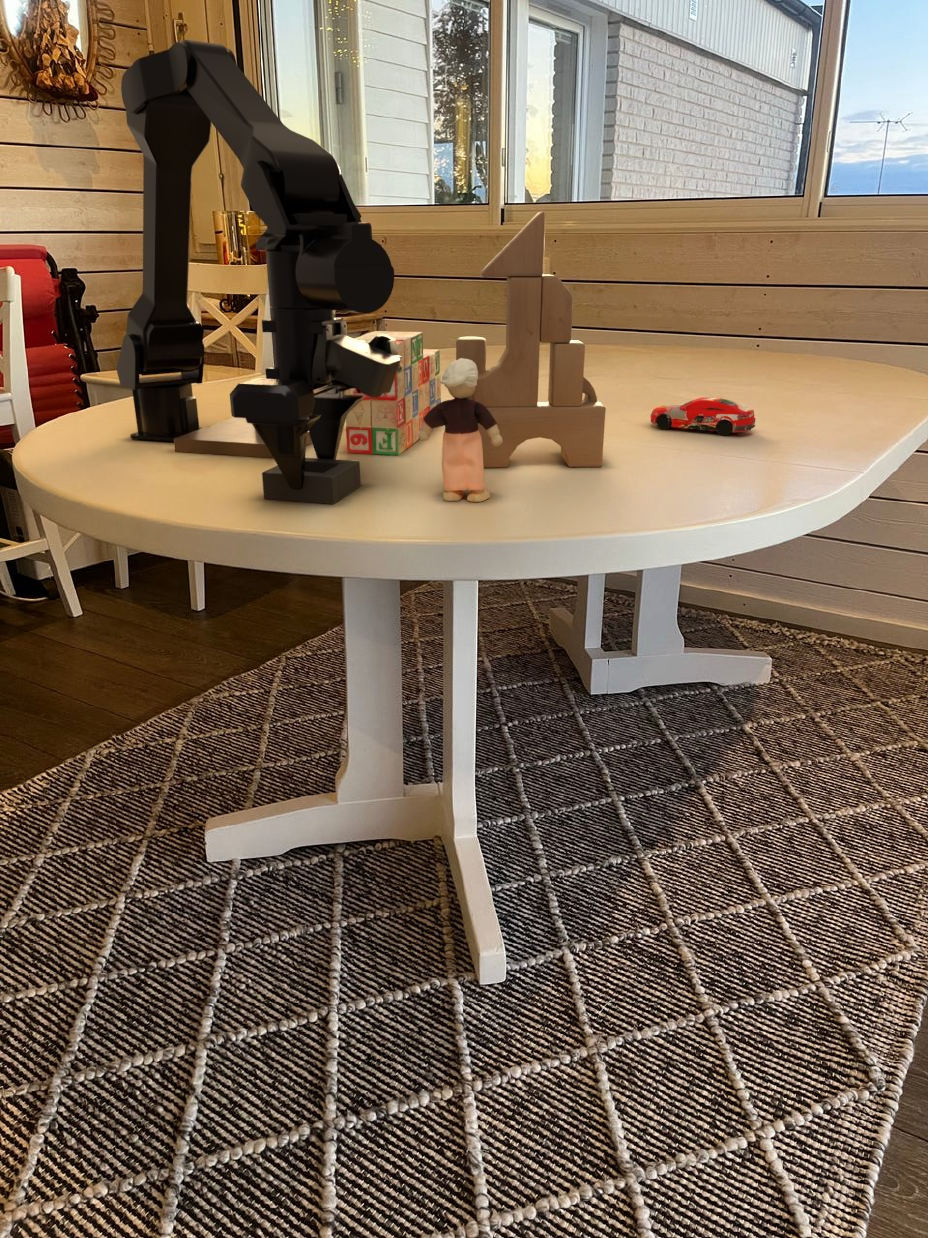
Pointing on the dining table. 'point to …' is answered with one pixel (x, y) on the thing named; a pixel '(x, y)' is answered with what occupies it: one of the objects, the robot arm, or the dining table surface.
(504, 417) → the wooden toy
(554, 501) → the dining table surface
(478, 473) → the grandmother figurine
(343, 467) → the rubber pad
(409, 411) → the stack of blocks
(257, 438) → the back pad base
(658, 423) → the race car
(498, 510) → the dining table surface
